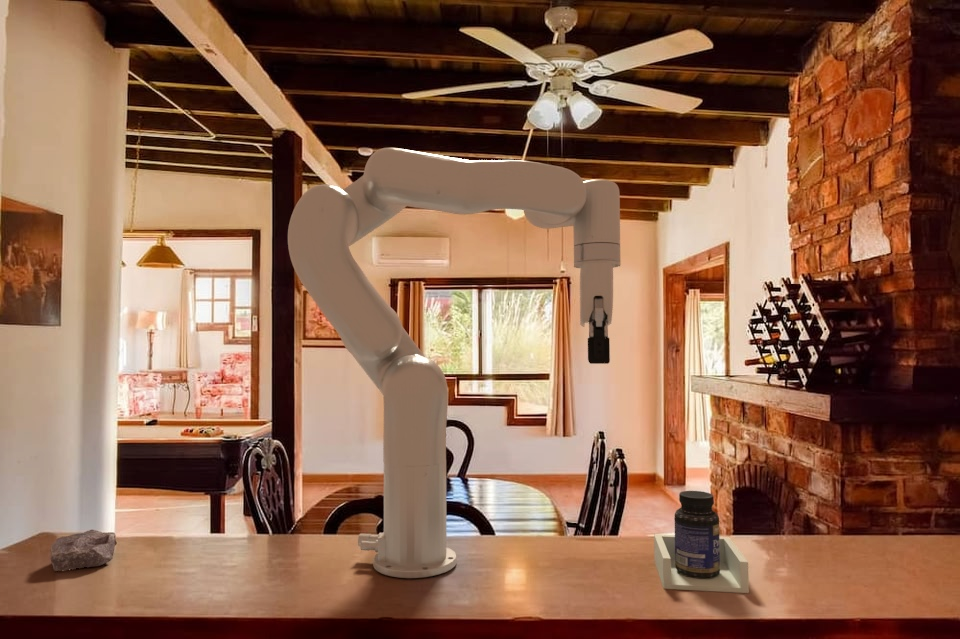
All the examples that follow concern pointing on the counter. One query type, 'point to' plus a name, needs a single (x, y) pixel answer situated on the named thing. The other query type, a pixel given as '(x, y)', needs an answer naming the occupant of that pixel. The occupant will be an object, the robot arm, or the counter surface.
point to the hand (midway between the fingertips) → (598, 362)
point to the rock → (82, 550)
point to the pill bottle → (697, 536)
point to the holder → (728, 579)
